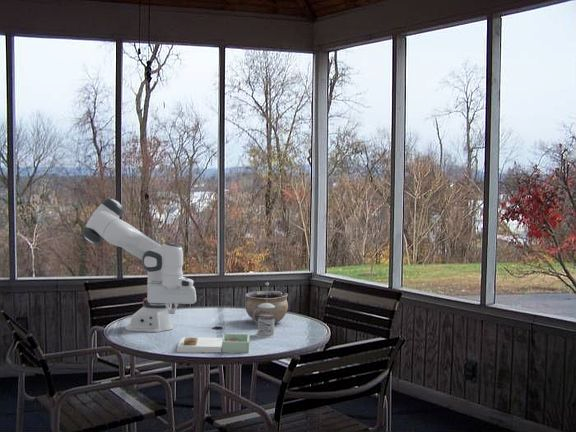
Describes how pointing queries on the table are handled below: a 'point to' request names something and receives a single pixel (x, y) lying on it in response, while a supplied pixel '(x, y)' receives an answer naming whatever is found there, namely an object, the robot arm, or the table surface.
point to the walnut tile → (233, 340)
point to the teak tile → (190, 341)
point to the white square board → (201, 345)
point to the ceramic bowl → (267, 297)
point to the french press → (265, 321)
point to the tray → (236, 343)
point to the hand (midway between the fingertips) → (171, 313)
